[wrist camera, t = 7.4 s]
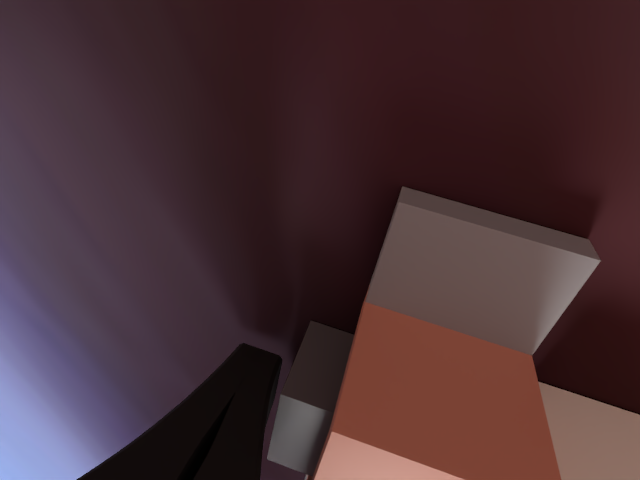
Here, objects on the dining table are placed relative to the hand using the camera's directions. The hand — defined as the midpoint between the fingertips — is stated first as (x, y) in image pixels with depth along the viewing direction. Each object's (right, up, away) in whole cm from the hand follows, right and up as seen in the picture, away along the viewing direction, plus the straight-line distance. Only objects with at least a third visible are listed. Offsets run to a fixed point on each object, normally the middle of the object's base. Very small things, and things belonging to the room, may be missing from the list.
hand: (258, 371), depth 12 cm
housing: (+4, -1, 0) cm, 4 cm away
